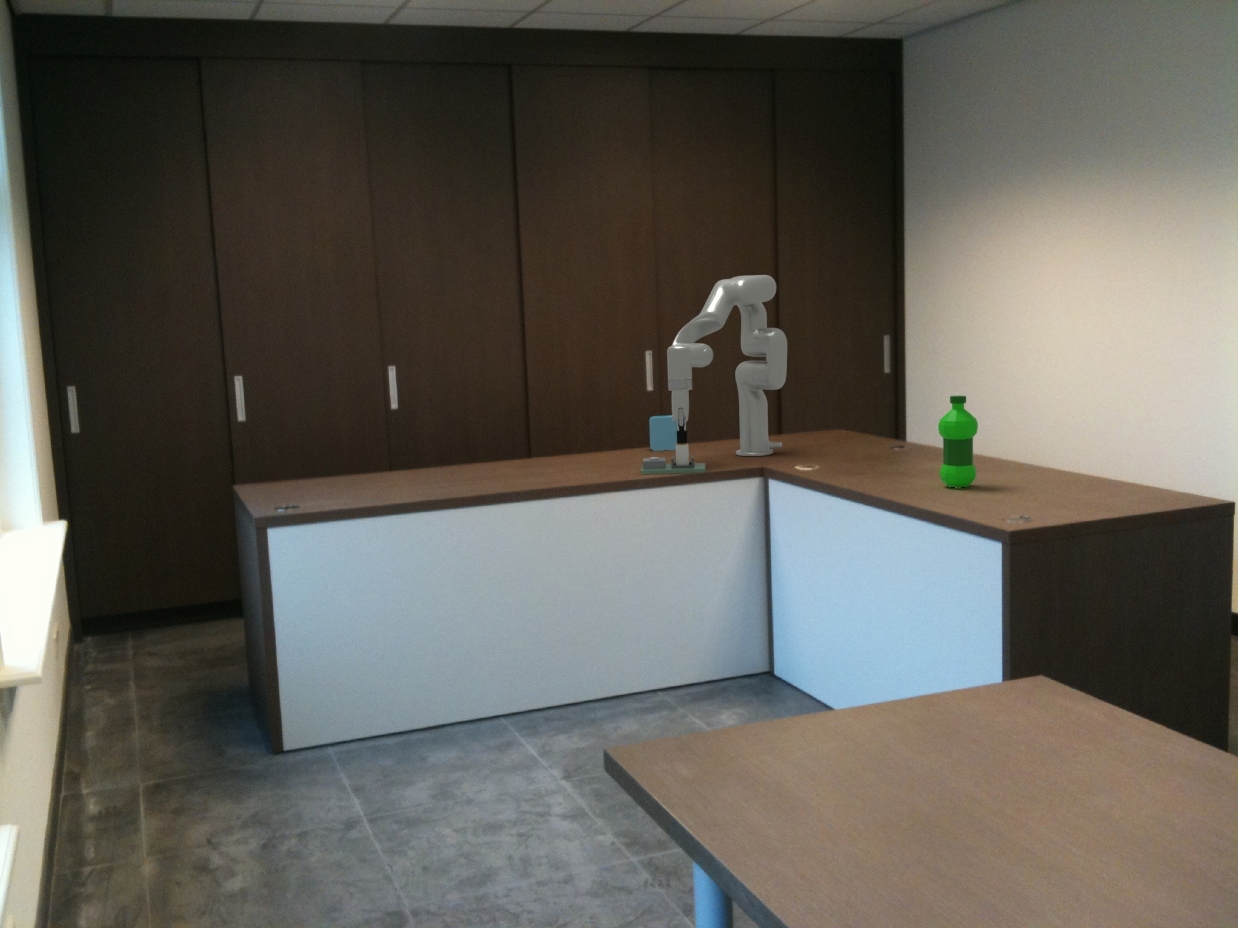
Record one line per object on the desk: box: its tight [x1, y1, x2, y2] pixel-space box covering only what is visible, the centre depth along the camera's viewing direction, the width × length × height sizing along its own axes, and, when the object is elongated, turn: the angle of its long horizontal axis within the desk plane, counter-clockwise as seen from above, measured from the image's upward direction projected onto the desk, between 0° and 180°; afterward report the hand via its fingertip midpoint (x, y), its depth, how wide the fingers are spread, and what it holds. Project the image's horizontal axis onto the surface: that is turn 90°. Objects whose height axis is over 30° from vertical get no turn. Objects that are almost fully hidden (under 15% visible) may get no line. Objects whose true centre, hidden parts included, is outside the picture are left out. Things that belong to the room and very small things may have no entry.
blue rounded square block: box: [648, 414, 678, 452], centre depth 432 cm, size 12×4×12 cm, turn 90°
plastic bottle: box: [937, 395, 979, 488], centre depth 333 cm, size 10×10×25 cm
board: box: [640, 454, 706, 475], centre depth 384 cm, size 20×12×4 cm, turn 87°
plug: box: [675, 442, 690, 465], centre depth 384 cm, size 4×4×7 cm
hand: (682, 443), depth 383 cm, fingers closed
